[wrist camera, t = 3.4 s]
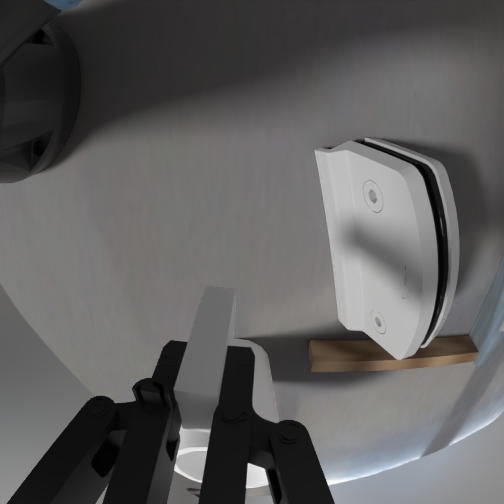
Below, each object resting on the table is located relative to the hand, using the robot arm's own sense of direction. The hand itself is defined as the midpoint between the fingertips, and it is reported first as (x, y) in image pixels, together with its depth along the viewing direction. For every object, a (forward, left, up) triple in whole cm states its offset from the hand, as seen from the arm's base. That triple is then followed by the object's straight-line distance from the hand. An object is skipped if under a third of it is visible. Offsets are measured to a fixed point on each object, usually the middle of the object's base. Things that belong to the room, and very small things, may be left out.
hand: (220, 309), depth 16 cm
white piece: (+11, 0, -11) cm, 15 cm away
